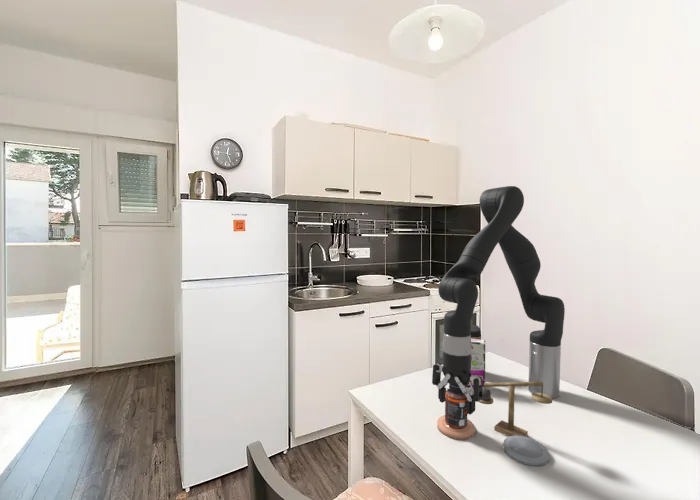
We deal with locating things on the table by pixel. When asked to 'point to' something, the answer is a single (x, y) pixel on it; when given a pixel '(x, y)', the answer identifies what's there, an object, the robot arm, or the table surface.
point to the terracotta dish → (456, 433)
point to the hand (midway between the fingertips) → (455, 407)
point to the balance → (509, 427)
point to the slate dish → (526, 450)
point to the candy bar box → (478, 359)
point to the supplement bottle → (455, 407)
